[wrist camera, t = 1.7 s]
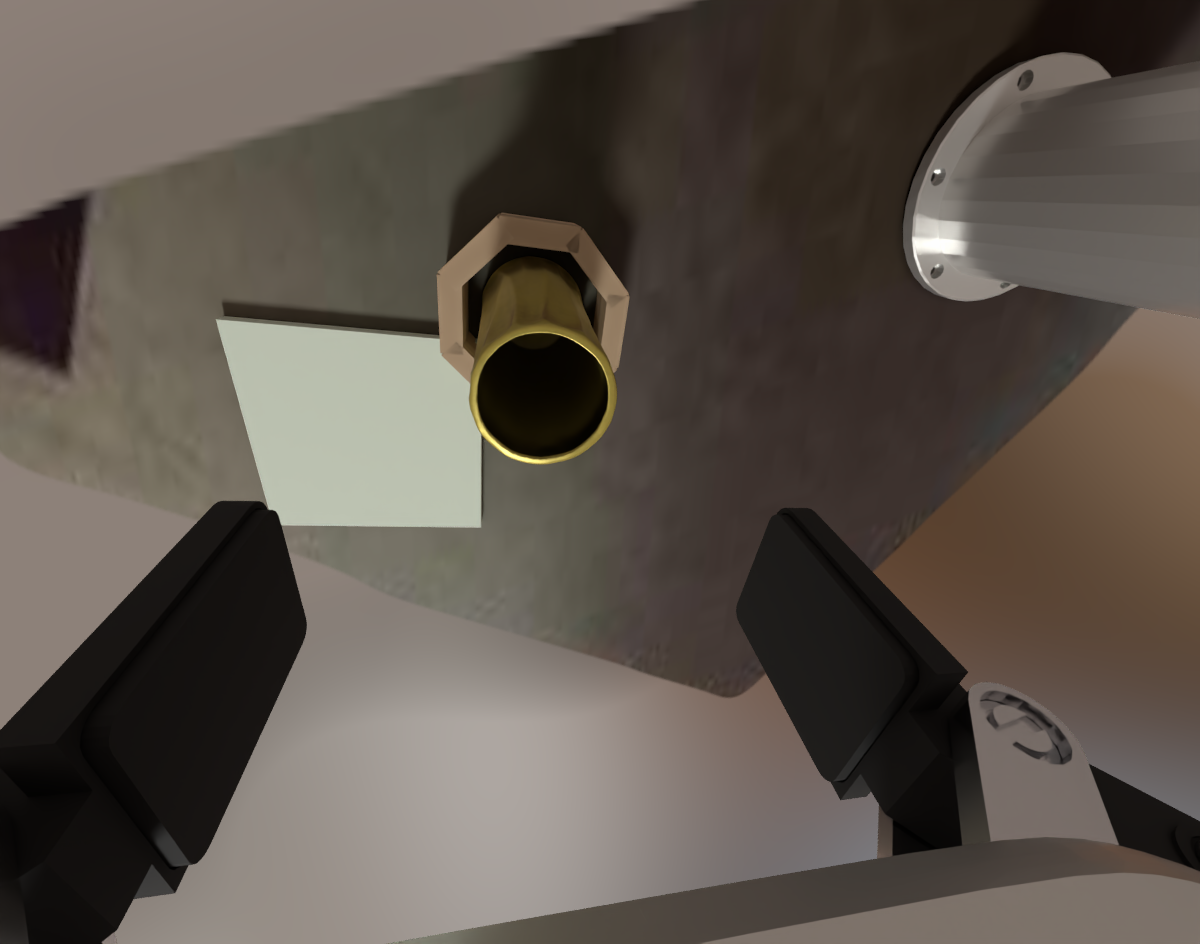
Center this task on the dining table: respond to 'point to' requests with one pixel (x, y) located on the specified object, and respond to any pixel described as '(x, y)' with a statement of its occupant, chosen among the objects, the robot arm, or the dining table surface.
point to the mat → (356, 424)
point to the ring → (537, 234)
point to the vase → (539, 366)
